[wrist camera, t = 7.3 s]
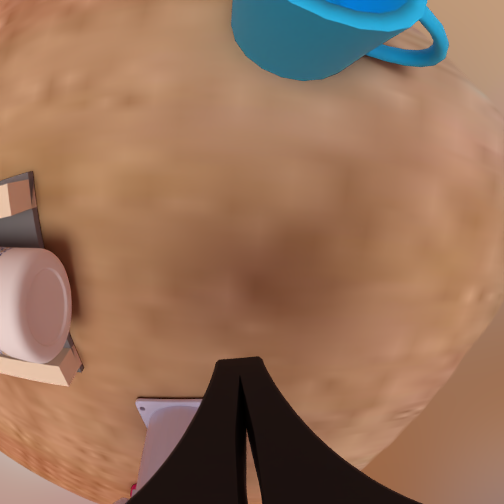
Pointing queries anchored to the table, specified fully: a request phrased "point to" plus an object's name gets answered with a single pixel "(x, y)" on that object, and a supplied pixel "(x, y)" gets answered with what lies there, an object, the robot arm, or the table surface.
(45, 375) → the cradle
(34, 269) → the bath foam
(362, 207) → the table surface
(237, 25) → the mug
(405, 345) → the table surface
